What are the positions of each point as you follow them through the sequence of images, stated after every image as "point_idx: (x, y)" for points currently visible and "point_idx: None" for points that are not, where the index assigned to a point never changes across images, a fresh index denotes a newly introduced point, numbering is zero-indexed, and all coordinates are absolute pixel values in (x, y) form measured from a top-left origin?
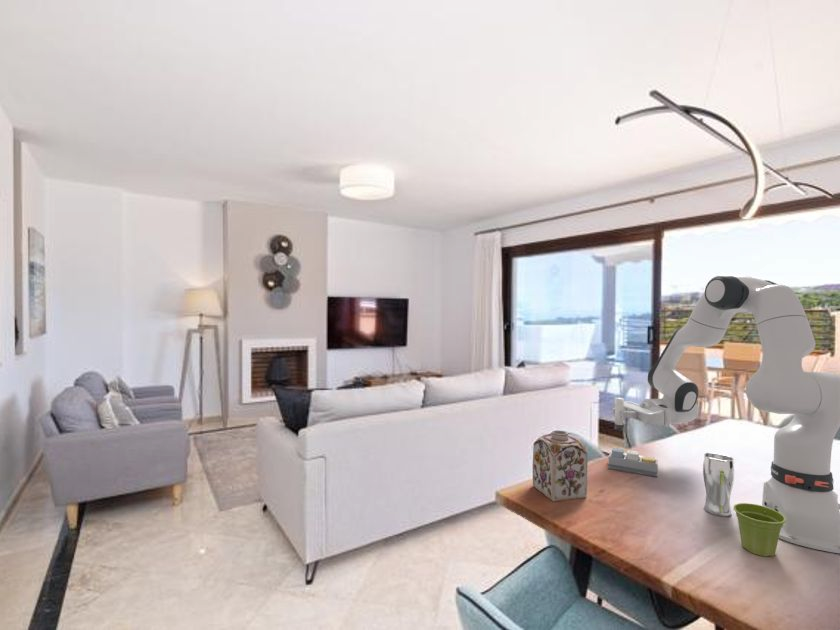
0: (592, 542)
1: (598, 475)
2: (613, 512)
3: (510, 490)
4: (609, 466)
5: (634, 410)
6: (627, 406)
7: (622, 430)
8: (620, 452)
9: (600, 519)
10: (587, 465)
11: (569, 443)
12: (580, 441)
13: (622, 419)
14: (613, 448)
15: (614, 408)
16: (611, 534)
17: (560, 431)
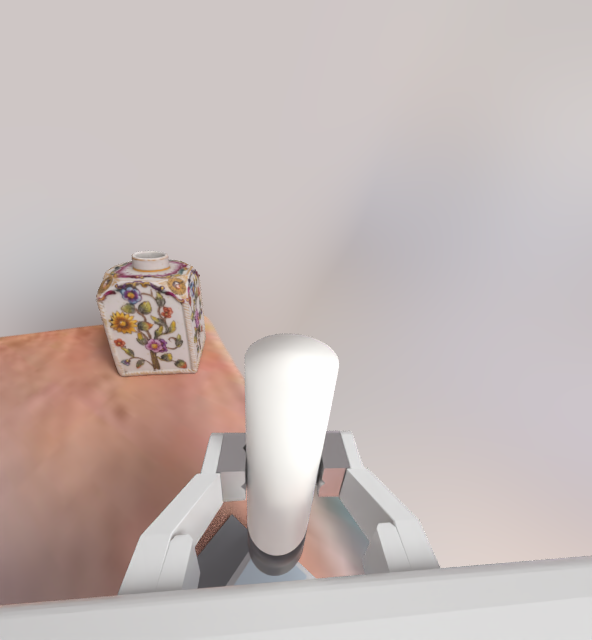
0: (26, 334)
1: (195, 453)
2: (40, 386)
3: (204, 319)
4: (238, 530)
5: (158, 594)
6: (352, 589)
7: (248, 549)
8: (238, 580)
9: (49, 362)
10: (104, 325)
11: (116, 266)
12: (116, 280)
13: (248, 503)
14: (295, 572)
15: (344, 439)
16: (9, 355)
17: (158, 258)
